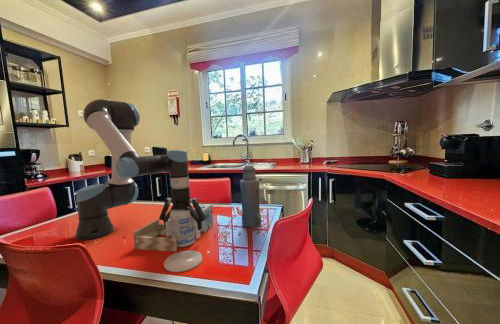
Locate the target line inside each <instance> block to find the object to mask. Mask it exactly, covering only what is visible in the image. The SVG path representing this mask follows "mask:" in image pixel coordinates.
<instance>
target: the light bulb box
mask: <svg viewBox="0 0 500 324" xmlns="http://www.w3.org/2000/svg"><path fill="white" fill-rule="evenodd" d="M199 206H200V208H201V210H202V211H203V213H204V215H205V217H206V219H205V220H204V221H203V222H202V229H201V230H200V233H206V232H207V231H209V229H210V228H211V227H213V225H214V213H213V204H212V203H211V204H210V203H200V204H199ZM193 209H194V208H193ZM194 210H195V209H194ZM195 211H196V210H195ZM196 213H197V212H196ZM195 223H196V220H195V219H194V229H195ZM195 232H196V229H195Z"/></svg>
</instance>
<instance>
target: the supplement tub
mask: <svg viewBox="0 0 500 324" xmlns="http://www.w3.org/2000/svg"><path fill="white" fill-rule="evenodd" d="M169 211H170V218H169V220H170V222H171V235H170V236H171V237H170V238H176V242H177V248H186V247H188V246H191V245H193V244H194V243H195V241H196V231H195V229H194V218H193V217H192V216H191V215H190V210H187V211H186V210H185V209H184V210H182V209H179V210H178V209H174V210H170V209H169Z"/></svg>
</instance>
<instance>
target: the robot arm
mask: <svg viewBox="0 0 500 324" xmlns="http://www.w3.org/2000/svg"><path fill="white" fill-rule="evenodd" d="M82 116H83V120H84V122H85V124H86V125H87V126H88V127H89V128H90V130H91V129H92V130H94V131H95V133H96V134H97V135H98V137H99V138H100V139H101V141H102V142H103V144H104V145H105V146H106V148H107V149H108V150H109V152H110V153H111V178H110V179H109V180H108V183H107V185H106V184H104V183H97V184H91V185H88V186H85V187H82V188H80V189H78V190H77V191H76V193H75V195H76V197H75V198H76V199H75V201H76V206H77V214H78V215H77V216H78V224H77V228H76V231H75V239H77V241H78V240H79V241H86V240H93V239H97V238H102V237H105V236H107V235H109V234H111V233H113V231H114V224H113V223H112V220H111V219H110V216H109V211H108V210H110V209H114V208H117V207H122V206H127V205H129V204H132V203H134V202H135V201H136V200H137V198H138V197H139V187H138V185H137V183H136V182H135V181H134V179H133V178H136V177H140V176H146V175H155V174H161V173H169V182H170V188H171V189H170V197H167V198H164V205H163V206H162V207H163V208H162V209H161V212H160V214H159V217H158V219H159V221H162V222H163V224H164V228H165V229H166V235H165V237H167V238H170V236H171V222H170V210H174V209H178V210H179V209H182V210H184V209H185V210H186V211H187V210H190V215H191V216H192V217H193V218H194V219H195V220H196V223H195V229H196V231H195V240H197V239H199V238H201V232H200V230H201V229H202V222H203V221H204V220H205V219H206V217H205V215H204V213H203V211H202V210H201V208H200V206H199V205H200V204H199V202H198V197H195V198H191V190H190V189H191V188H190V176H189V158H188V152H187V150H185V149H174V150H173V149H172V150H169V151H168V153H167V154H154V155H146V156H145V155H144V156H141V155H139V153H138V152H137V151H136V150H135V149H134V148H133V146H132V132H134V131H135V127H137V126H138V125H139V123H140V120H141V118H140V117H141V115H140V112H139V110H138V108H137V107H136V105H134V104H133V103H129V102H126V101H117V100H110V99H109V100H108V99H101V98H100V99H94V100H91V101H90V102H89V103H87V104H86V105H85V107H84V109H83V112H82ZM171 204H172V206H171V208H170V205H171ZM169 208H170V209H169ZM194 209H195V210H196V211H195V210H194ZM168 210H169V211H168ZM196 212H197V213H196Z"/></svg>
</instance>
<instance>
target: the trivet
mask: <svg viewBox="0 0 500 324" xmlns="http://www.w3.org/2000/svg"><path fill="white" fill-rule="evenodd" d="M202 260H203V255H202V254H201V252H199V251H196V250H183V251H179V252H175V253H173V254H171V255H169V256H168V257H166V259H164V261H163V267H164V269H165V270H166V271H168V272H171V273H182V272H187V271H190V270H193V269H195V268H197V266H199V265H200V264H201V263H202Z"/></svg>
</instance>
